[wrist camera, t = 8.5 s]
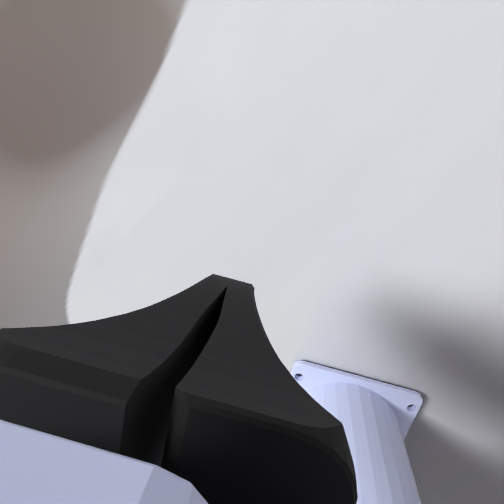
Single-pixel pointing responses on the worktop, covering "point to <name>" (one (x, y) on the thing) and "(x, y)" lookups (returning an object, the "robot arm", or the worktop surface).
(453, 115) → the worktop surface
